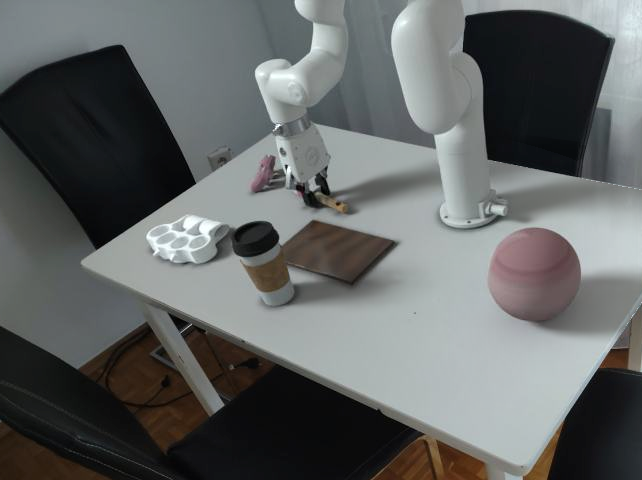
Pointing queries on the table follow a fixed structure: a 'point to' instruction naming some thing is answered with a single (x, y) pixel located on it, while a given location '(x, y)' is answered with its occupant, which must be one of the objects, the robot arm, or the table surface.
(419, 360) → the table surface
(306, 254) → the board
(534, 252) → the pink ball
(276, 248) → the coffee cup
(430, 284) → the table surface
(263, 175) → the video game controller
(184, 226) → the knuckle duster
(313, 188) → the white and tan bar
